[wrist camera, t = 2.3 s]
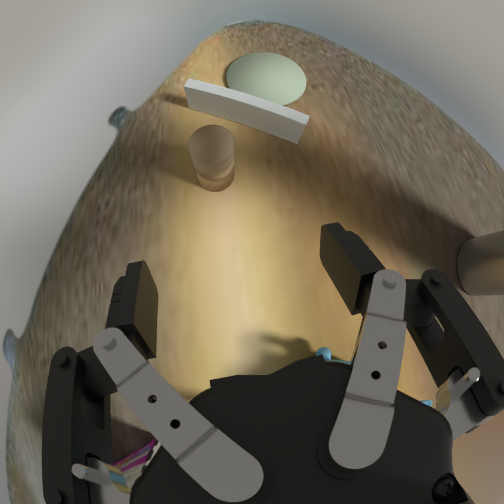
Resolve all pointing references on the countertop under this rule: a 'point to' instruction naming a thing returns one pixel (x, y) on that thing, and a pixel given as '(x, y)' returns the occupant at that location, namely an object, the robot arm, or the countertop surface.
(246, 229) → the countertop surface
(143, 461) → the candy bar box
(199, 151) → the beech cylinder
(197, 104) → the frosted wall
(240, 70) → the sage mat
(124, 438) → the countertop surface
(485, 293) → the robot arm
